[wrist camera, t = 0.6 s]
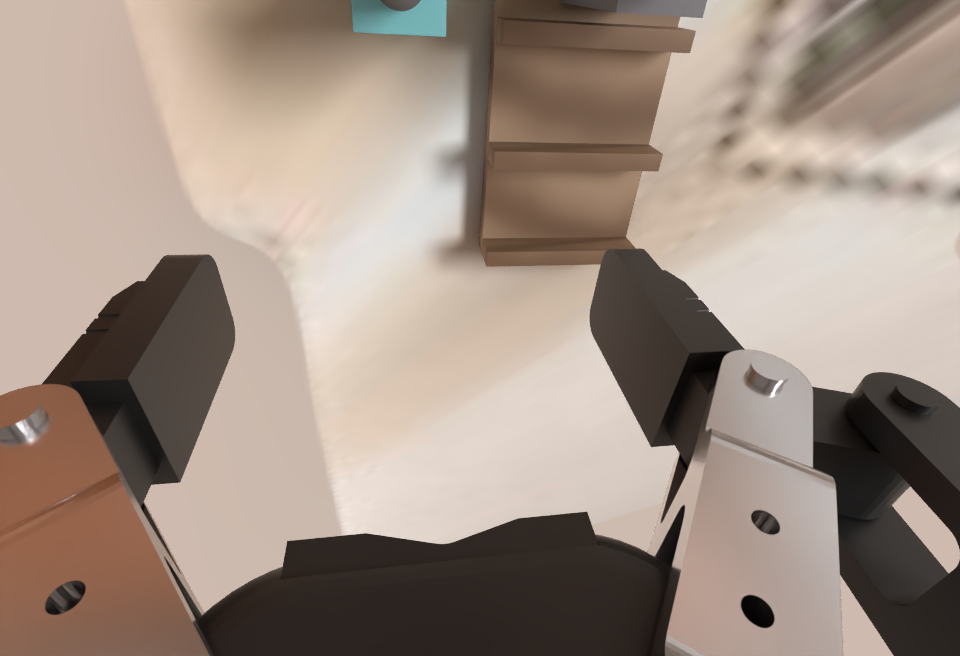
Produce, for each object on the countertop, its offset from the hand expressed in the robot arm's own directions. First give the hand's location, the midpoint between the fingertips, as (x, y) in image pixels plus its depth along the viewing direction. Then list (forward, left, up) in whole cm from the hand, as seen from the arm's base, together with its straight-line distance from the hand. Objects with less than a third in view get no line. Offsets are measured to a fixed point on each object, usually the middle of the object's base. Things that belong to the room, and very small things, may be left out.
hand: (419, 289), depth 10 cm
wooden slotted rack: (0, +10, -22) cm, 24 cm away
